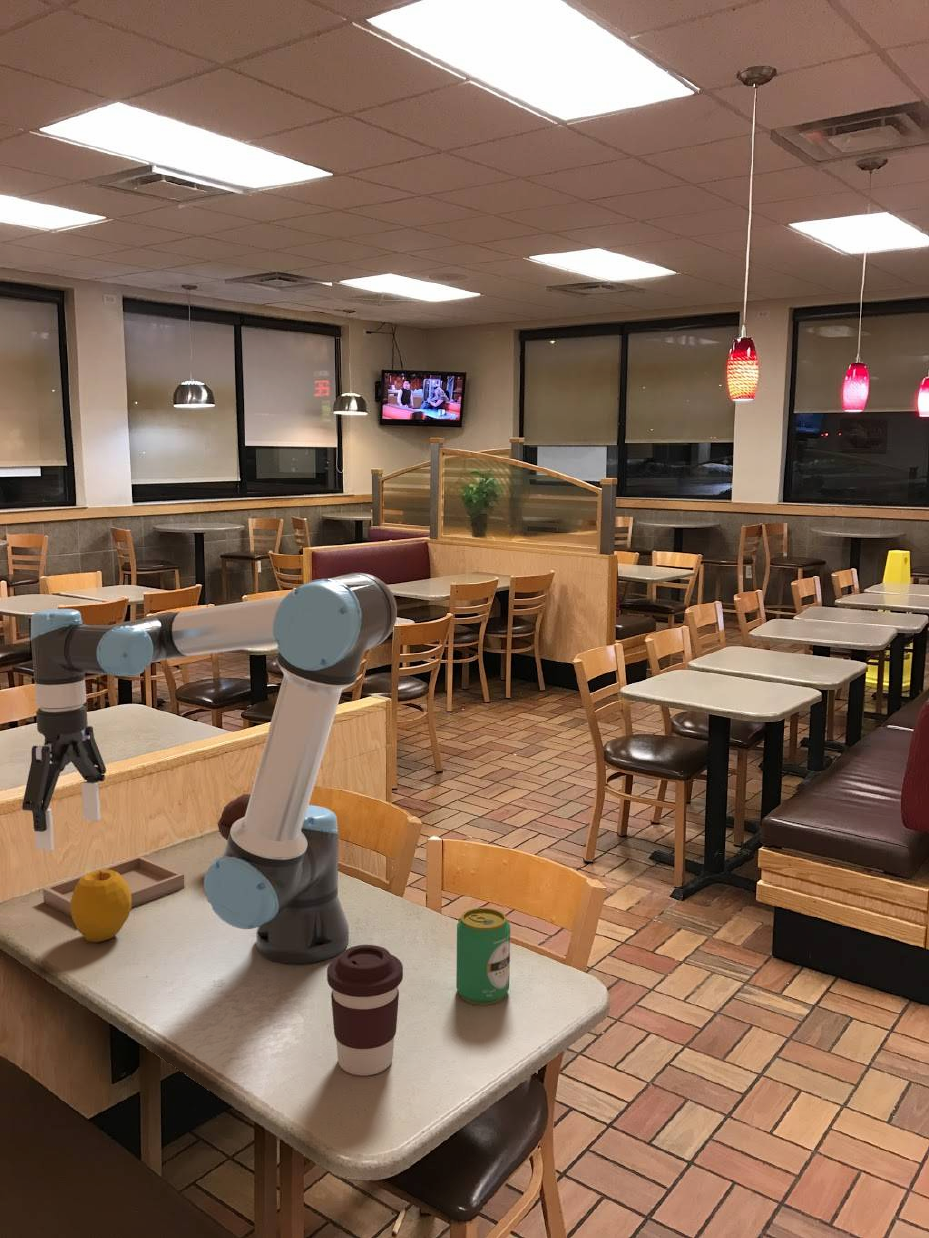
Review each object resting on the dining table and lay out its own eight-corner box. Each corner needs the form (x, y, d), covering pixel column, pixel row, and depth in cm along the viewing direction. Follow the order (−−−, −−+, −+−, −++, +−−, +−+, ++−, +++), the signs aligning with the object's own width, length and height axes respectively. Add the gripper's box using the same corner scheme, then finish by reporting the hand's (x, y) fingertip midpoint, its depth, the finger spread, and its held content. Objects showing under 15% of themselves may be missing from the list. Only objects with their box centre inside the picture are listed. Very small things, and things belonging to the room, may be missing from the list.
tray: (140, 868, 198) (140, 855, 198) (184, 887, 189) (184, 874, 189) (43, 901, 182) (43, 888, 182) (86, 924, 174) (86, 910, 173)
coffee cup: (403, 1040, 140) (403, 938, 138) (401, 1083, 131) (401, 974, 128) (331, 1040, 140) (330, 938, 138) (324, 1084, 130) (323, 974, 128)
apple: (117, 954, 164) (114, 885, 162) (60, 950, 165) (56, 881, 163) (142, 926, 173) (140, 861, 172) (88, 923, 174) (85, 858, 173)
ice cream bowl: (287, 862, 202) (285, 790, 199) (247, 881, 192) (245, 805, 190) (247, 851, 207) (246, 780, 205) (207, 869, 198) (205, 795, 196)
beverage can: (486, 1012, 148) (487, 934, 146) (445, 993, 153) (446, 918, 151) (519, 991, 154) (521, 916, 152) (479, 973, 159) (480, 901, 157)
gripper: (82, 688, 175) (89, 807, 178) (-10, 724, 150) (0, 861, 153) (122, 690, 173) (129, 809, 176) (36, 726, 149) (46, 864, 152)
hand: (69, 834), depth 165 cm, fingers open, 13 cm apart
